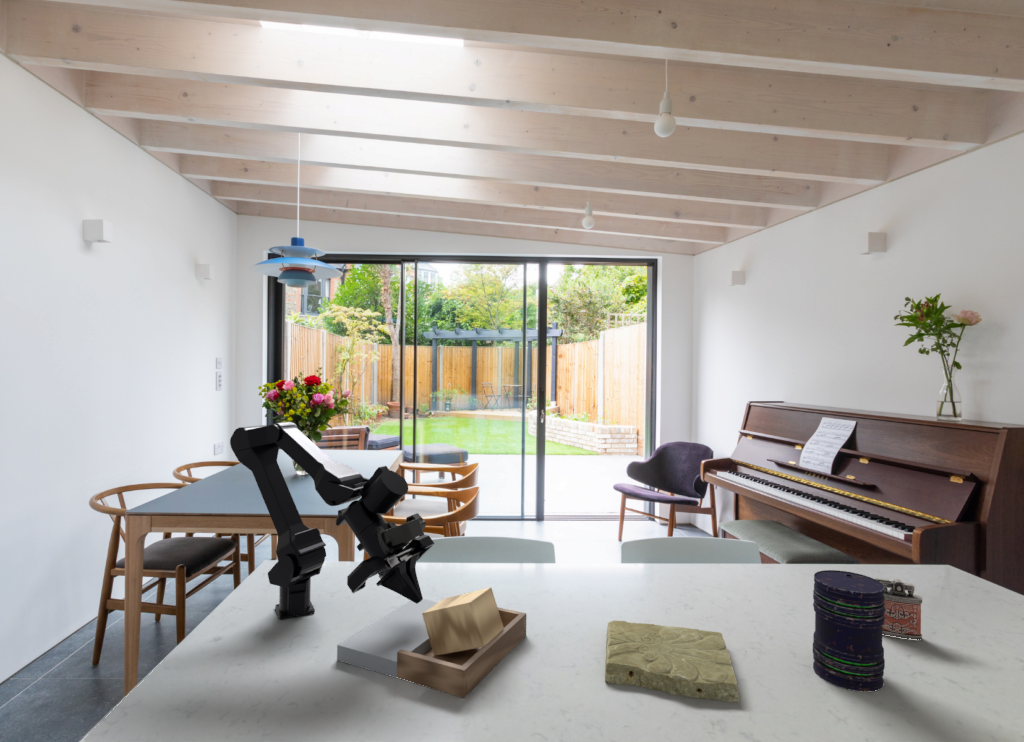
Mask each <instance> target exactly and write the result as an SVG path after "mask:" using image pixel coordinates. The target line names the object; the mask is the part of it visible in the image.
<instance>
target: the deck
mask: <svg viewBox="0 0 1024 742" xmlns="http://www.w3.org/2000/svg"><path fill="white" fill-rule="evenodd" d="M438 602H439V601H433V600H429V599H424V598H423V600H422V601H421V602H419V603H418V604H416V603H415V602H413V601H411V600H409V601H408V602H406V603H405V604H403V605H401V606H400V607H398V608H396V609H395V610H392V611H391V612H389V613H388V614H386V615H385V616H383V617H381V618H379V619H378V620H376V621H375V622H373V623H371V624H369V625H368V626H366V627H365V628H363V629H362V630H359V631H358V632H356V633H355V634H353V635H351V636H350V637H348V638H346V639H345V640H343V641H342V642H340V643H338V644H337V645H336V648H337V649H336V651H337V652H336V653H337V654H336V660H337V661H338V662H342V663H346V664H349V665H353V666H354V667H355V666H356V667H358V666H359V668H362V667H363V668H362V669H365V668H367V669H366V670H368V669H370V670H369V671H372V672H375V671H376V673H378V672H380V673H379V674H382V673H383V675H385V674H387V675H386V676H388V675H391V676H390V677H392V676H394V677H393V678H395V677H397V652H398V651H399V650H401V649H402V650H406V651H409V652H413V653H417V654H420V655H423V654H424V653H426V652H427V651H428V650H430V649H431V648H432V647H431V643H430V640H429V636H428V633H427V629H426V626H425V622H424V619H423V615H422V613H423V612H425V611H426V610H428V609H429V608H431V607H432V606H434V605H435V604H437V603H438Z"/></svg>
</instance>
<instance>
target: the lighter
mask: <svg viewBox="0 0 1024 742" xmlns="http://www.w3.org/2000/svg"><path fill="white" fill-rule="evenodd" d="M874 579H875V580H878V581H879V582H881V583H882V584H883V585H884V587H885V589H884V594H883V595H884V602H885V613H884V616H885V620H884V624H883V625H882V634H884V635H890V636H896V637H901V638H907V639H909V638H911V639H917V640H918V639H919V640H920V639H922V640H923V634H922V604H923V597H922V596H920V595H917V594H914V593H915V584H913V583H909V582H908V583H907V582H903V581H902V580H900V579H897V578H896V579H893V580H890V579H887V578H879V577H875V578H874ZM888 589H889V590H888ZM906 591H907V592H906Z"/></svg>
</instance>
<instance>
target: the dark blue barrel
mask: <svg viewBox="0 0 1024 742" xmlns="http://www.w3.org/2000/svg"><path fill="white" fill-rule="evenodd" d="M875 579H876V578H873V577H871V576H868V575H865V574H861V573H857V572H856V573H855V572H851V571H847V570H846V571H845V570H835V569H832V570H831V569H830V570H829V569H827V570H820V571H816V572H814V575H813V581H814V583H813V591H812V599H813V602H812V603H813V604H812V607H813V610H814V612H815V613H814V614H815V616H814V617H815V619H814V625H815V626H814V633H813V642H812V654H813V657H812V658H813V664H812V668H813V671H814V673H815V674H816V675H817V676H818V677H820V678H821V679H822V680H823V679H824V680H823V681H825V682H827V683H829V684H831V685H833V686H835V687H838V688H841V687H842V689H844V688H845V690H848V689H850V690H849V691H852V690H855V691H854V692H859V691H863V692H862V693H868V692H867V691H874V692H876V691H875V690H878V689H880V690H881V688H882V689H883V687H884V685H883V684H884V683H885V682H884V673H885V672H884V671H885V665H886V664H885V663H886V662H885V661H886V660H885V658H884V657H885V649H884V646H883V636H882V625H883V624H884V620H885V616H884V613H885V602H884V595H883V594H884V589H885V587H884V585H883V584H882V583H881V582H879V581H878V580H875ZM864 691H866V692H864ZM878 691H879V690H878Z"/></svg>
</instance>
